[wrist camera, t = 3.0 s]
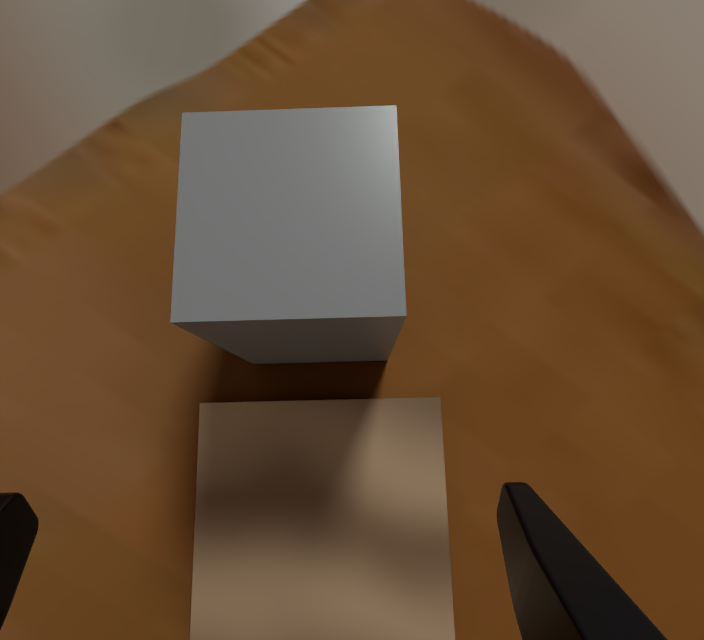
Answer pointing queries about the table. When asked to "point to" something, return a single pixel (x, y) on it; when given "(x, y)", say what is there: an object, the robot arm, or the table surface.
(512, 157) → the table surface
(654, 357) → the table surface
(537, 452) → the table surface
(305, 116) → the sharp-edged grey box
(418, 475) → the light tan board
